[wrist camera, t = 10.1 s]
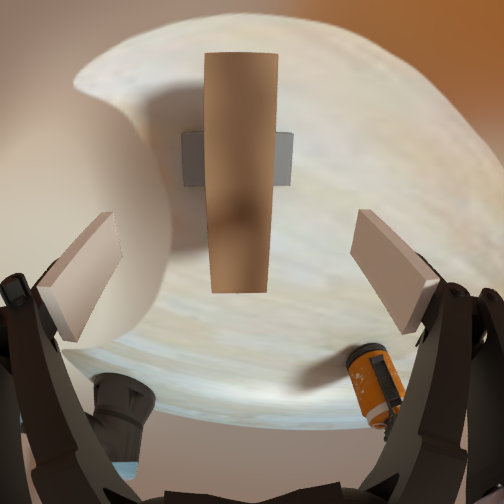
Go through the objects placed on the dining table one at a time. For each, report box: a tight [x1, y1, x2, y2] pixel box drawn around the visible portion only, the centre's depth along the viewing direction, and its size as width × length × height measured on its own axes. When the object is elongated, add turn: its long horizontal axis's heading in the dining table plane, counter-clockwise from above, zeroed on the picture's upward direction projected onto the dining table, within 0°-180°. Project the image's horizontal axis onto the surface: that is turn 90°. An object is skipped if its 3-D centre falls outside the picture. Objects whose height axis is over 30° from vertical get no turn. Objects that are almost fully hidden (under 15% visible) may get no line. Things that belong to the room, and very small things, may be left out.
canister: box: [346, 344, 406, 442], centre depth 42 cm, size 9×11×20 cm
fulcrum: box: [181, 132, 294, 186], centre depth 27 cm, size 12×6×7 cm, turn 89°
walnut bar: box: [204, 52, 278, 293], centre depth 22 cm, size 5×20×5 cm, turn 179°
